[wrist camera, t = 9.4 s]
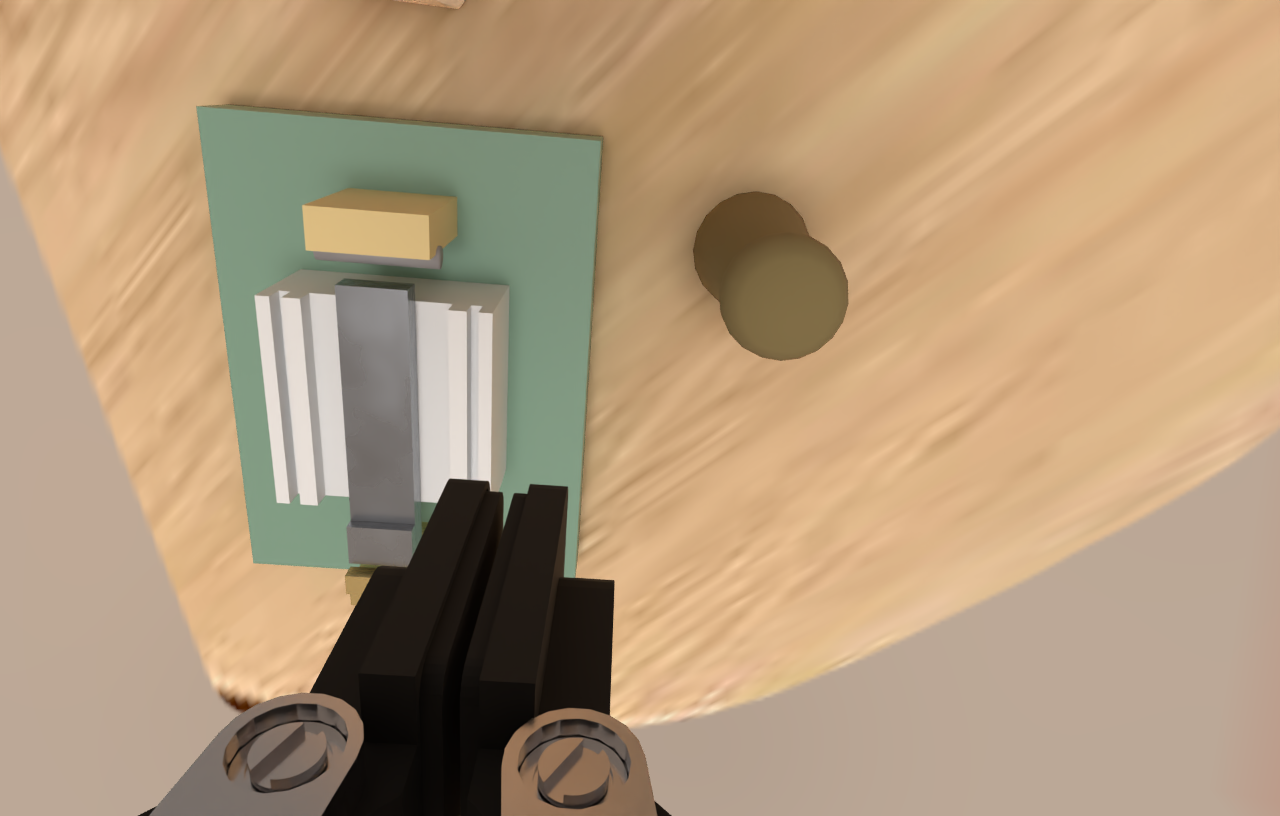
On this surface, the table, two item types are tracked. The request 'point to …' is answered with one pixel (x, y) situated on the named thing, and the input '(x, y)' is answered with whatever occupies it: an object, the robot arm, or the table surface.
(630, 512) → the table surface
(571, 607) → the robot arm
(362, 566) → the lug
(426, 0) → the jar
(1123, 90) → the table surface
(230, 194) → the board
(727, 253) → the cork
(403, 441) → the strap
